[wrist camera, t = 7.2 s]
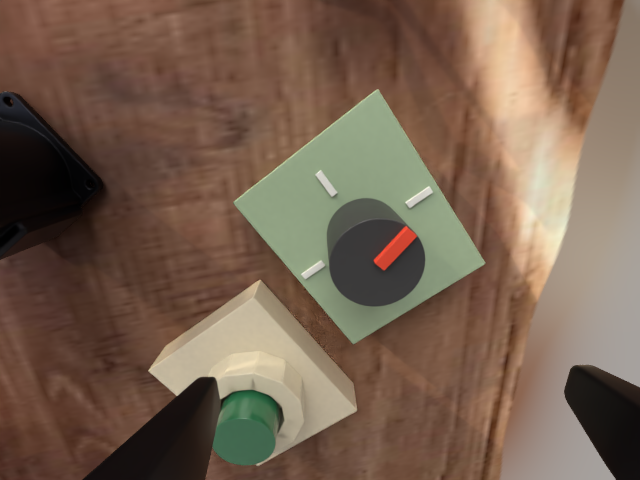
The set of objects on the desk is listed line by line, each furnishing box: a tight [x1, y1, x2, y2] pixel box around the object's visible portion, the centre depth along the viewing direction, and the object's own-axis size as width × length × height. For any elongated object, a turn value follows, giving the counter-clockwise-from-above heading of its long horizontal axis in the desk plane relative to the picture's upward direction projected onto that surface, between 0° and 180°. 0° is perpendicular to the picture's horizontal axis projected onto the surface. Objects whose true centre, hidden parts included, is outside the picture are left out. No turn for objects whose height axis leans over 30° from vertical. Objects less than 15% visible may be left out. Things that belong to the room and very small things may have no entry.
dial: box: [327, 198, 425, 307], centre depth 15 cm, size 4×4×4 cm
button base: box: [148, 280, 357, 466], centre depth 21 cm, size 11×9×4 cm
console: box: [233, 89, 485, 344], centre depth 18 cm, size 11×9×3 cm
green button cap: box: [212, 390, 280, 465], centre depth 18 cm, size 4×4×2 cm
